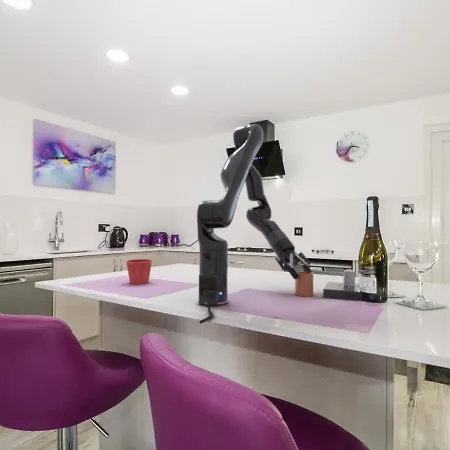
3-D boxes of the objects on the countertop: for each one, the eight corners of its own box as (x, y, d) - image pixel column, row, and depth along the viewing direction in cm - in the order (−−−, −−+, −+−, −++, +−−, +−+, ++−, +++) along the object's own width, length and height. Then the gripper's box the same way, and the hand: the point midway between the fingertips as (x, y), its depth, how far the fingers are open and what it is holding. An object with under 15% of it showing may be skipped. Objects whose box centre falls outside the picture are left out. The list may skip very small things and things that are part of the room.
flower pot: (126, 285, 137) (126, 262, 137) (126, 281, 148) (126, 259, 148) (152, 284, 140) (152, 261, 140) (151, 280, 150) (151, 258, 150)
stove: (360, 300, 111) (360, 291, 111) (323, 297, 115) (323, 288, 115) (361, 291, 125) (361, 283, 125) (328, 289, 130) (328, 281, 130)
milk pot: (311, 297, 116) (311, 274, 116) (293, 295, 118) (293, 273, 118) (314, 293, 122) (314, 272, 122) (296, 292, 124) (297, 271, 124)
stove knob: (354, 287, 119) (355, 270, 119) (343, 286, 120) (343, 270, 120) (355, 285, 123) (355, 269, 123) (343, 284, 124) (343, 268, 124)
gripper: (273, 237, 122) (298, 271, 113) (297, 236, 131) (322, 268, 122) (262, 250, 126) (286, 285, 117) (286, 249, 135) (310, 281, 126)
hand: (304, 276), depth 120 cm, fingers open, 8 cm apart
